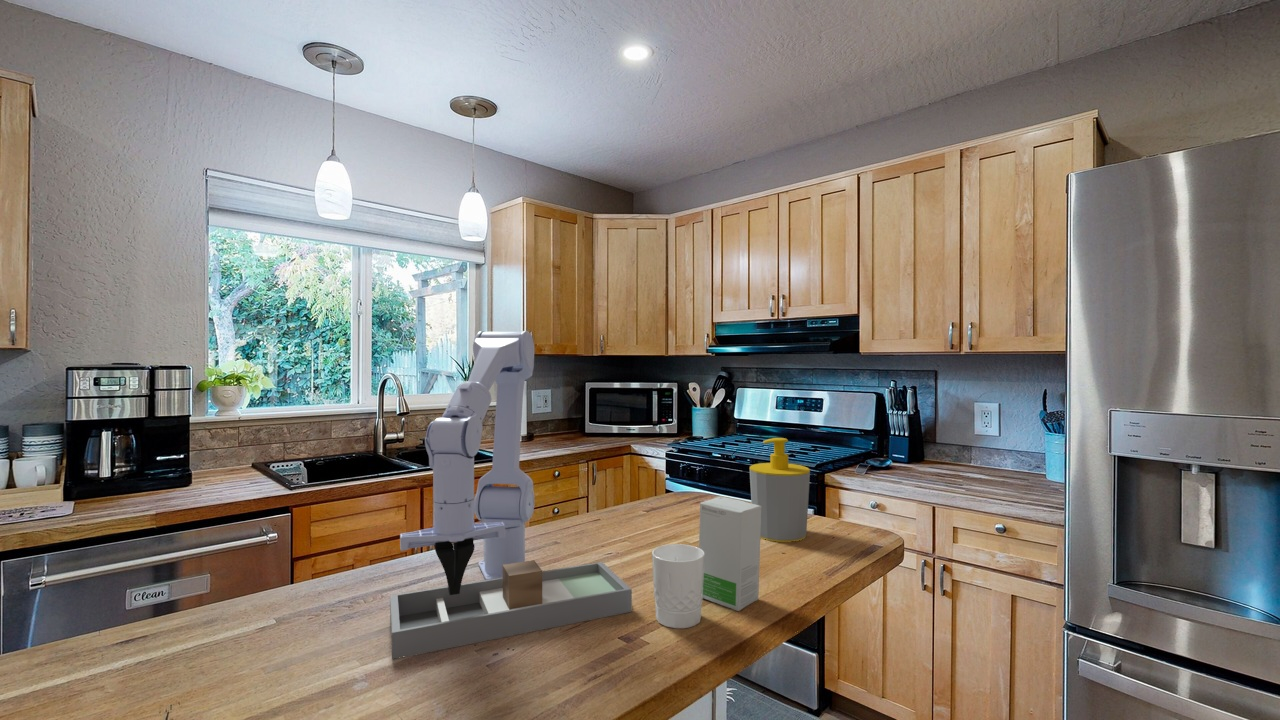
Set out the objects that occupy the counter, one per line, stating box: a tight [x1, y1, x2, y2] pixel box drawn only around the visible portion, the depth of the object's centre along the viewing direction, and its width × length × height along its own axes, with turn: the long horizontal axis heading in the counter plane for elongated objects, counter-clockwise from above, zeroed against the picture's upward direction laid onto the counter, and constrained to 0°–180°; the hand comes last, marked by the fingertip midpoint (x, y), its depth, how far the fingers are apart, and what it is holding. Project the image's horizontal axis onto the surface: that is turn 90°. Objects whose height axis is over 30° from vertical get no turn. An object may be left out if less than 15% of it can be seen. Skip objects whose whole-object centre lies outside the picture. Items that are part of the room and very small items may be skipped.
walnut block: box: [503, 559, 543, 610], centre depth 89 cm, size 5×5×5 cm
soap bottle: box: [749, 437, 811, 543], centre depth 128 cm, size 13×13×21 cm
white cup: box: [651, 543, 705, 629], centre depth 87 cm, size 8×8×10 cm
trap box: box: [389, 561, 633, 660], centre depth 88 cm, size 13×34×4 cm, turn 114°
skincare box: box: [698, 496, 761, 612], centre depth 94 cm, size 8×7×16 cm
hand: (453, 592), depth 84 cm, fingers closed
